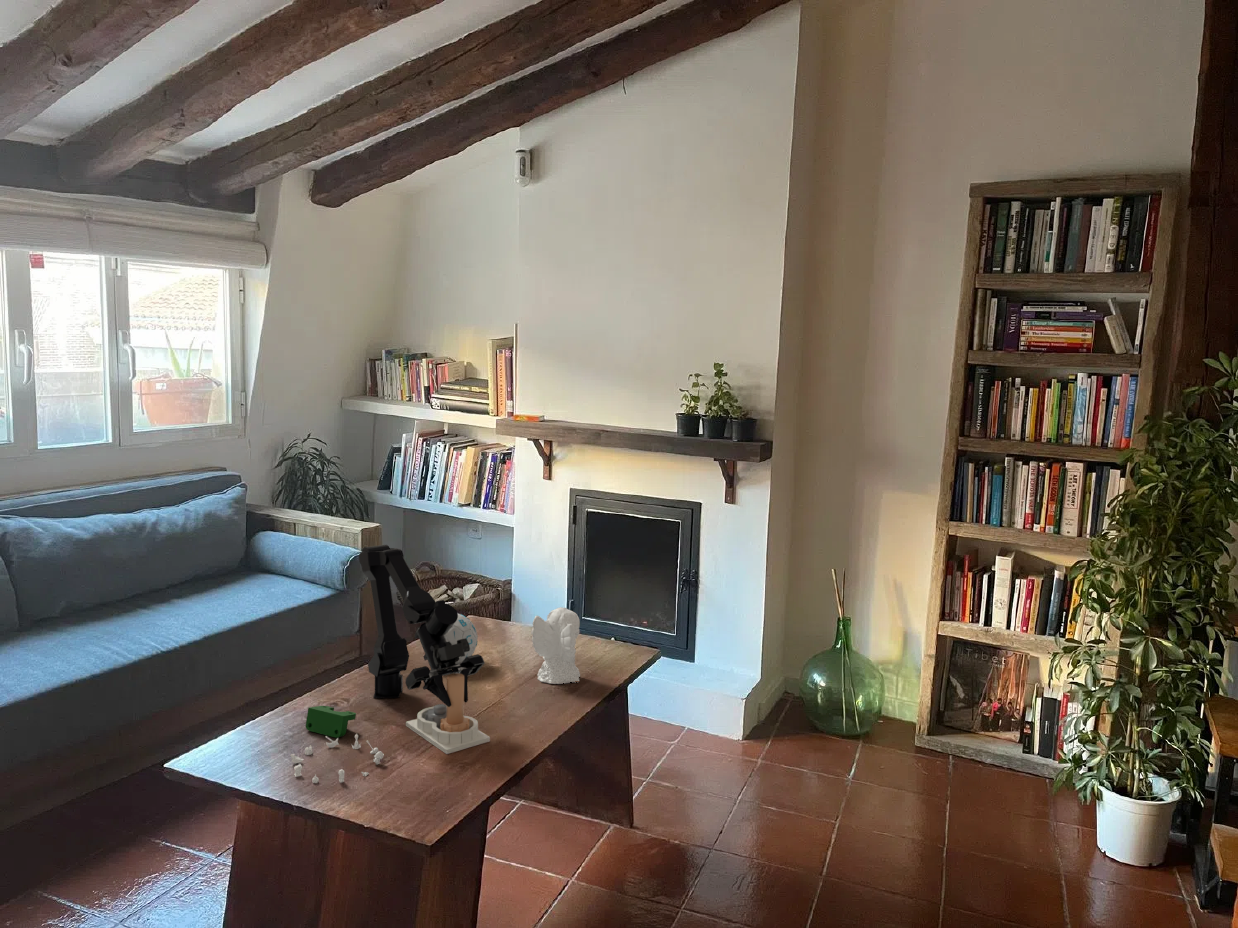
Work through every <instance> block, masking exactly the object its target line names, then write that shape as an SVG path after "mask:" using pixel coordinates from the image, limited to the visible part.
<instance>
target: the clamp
mask: <svg viewBox="0 0 1238 928" xmlns="http://www.w3.org/2000/svg"><path fill="white" fill-rule="evenodd" d="M356 716H357V713H356V712H354V711H349V710H348V711H337V710H335V707H332V706H328V705H317V706H310V707H308V708H307V714H306V720H305V729H306V730H307V731H309V732H313V733H317V734H320V735H324V736H327V737H331V738H336V739H337V738H342V737H344V736H345V735H346V733H347V729H348V726H349V725H348V723H349V721H353V720H356Z"/></svg>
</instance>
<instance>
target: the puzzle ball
mask: <svg viewBox="0 0 1238 928" xmlns="http://www.w3.org/2000/svg"><path fill="white" fill-rule="evenodd" d="M444 636H445V639H446V641H447V642H449V641H450V643H451V644H452V645H454V644H457V640H460V639H465V638H466V639H467V641H468V643H469V646H470V651H468V652H464V653H465V656H462V657H461V656H460V657H459V660H458V662H455V664H460V663H462V662H463V660H464V659H465V658H466V657H468V656H473V654H474V652H475V650H476V648H477V646H478V632H477V628H476V626H475V624H474V623H473V622H472V621H471V619H470V618H468V617H467V616H465V615H463V614H462V613H458V618H457V621H456V622H455V623H454V625H453V626H452V627H451V629H450V630H449V631H448V633H447V634H445V635H444Z"/></svg>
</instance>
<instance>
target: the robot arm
mask: <svg viewBox="0 0 1238 928" xmlns="http://www.w3.org/2000/svg"><path fill="white" fill-rule="evenodd" d="M358 560H359V564H360V565H361V571H362V573H363V575H365V576H366V578H367V579H368V580H369V582H370V586H371V594H372V595H371V596H372V601H373V607H374V613H375V622H376V628H377V629H376V630H377V635H378V637H377V639H376V642H375V644H374V646H373V656H372V657H371V659H370V660H369V662H368V663H367V668H368V672H369V673H370V674H371V675H373V676H374V693H373V696H372V697H373V699H395V698H396V699H398V698H400V695H401V694H402V692H403V688H404V687H403V683H404V682H403V681H404V680H403V677H404V676H403V674H401V672H404V671H407V667H408V664H409V659H410V653H409V651H408V643H407V642H408V641H407V640H406V638H405V637H404V638H403V637H402V636H401V635H400V634H399V633H398V628H397V627H398V626H397V621H396V614H395V608H394V606H395V605H394V599H393V594H392V587H391V581H390V580H392V581H393V583H394V585H395V588H396V589H397V591H398V592H399V595H400V597H401V599H402V600H403V603H402V607H401V610H402V612H403V616H404V618H405V620H406V622H408V623H409V624H410V625H416V624H421V625H420V626H417V627H416V631H415V633H414V639H415V640H417V639H419V642H420V644H421V647H422V649H423V652H424V655H423V659H424V661H427V662H428V665H429V666H426V665H425V666H420V667H415V668H412V670H411V671H410V673H408V675H407V677H406V678H405V686H406V689H407V690H408V691H411V690H414V689H419V688H420V687H421V684H422V682H423V684H424V685H423V686H422V689H423V690H424V691H425V690H427V691H428V692H430V693H431V694H432V695H434V696H435V697H436V698H438V699H439V700H440V701H441V702H442V704H444V705H446V706H448V707H450V706H451V702H450V698H449V696H448V694H447V688H446V687H445V685H444V680H443V678H444V676H448V675H449V674H453V673H459V674H463V675H464V704H466V703H468V701H469V690H468V680H469V676H472V675H476V674H477V673H478V672H479V671H480V669H481V668H482V667H483V666H484V665H485V664H486V662H485V660H484V658H483V656H482V655H481V654H479V653H477V654H474V655H473V654H472V656H468V657H466V658H465V659H464V660H463V662H462V663H460V664H455V662H458V660H459V657H460V656H461V657H462V656H465V653H464V652H468V651H470V646H469V643H468V641H467V639H466V638H465V639H460V640H457V644H454V645H452V644H451V643H450V641H449V642H447V641H446V639H445V636H444V635H445V634H447V633H448V631H449V630H450V629H451V627H452V626H453V625H454V623H455V622H456V621H457V618H458V614H459V613H458V611H457V609H456V608H455V607H453V606H452V605H450V604H448V603H446V601H445V599H440V600H435V599H434V598H433V596H432V595H431V593H430V592H428V591H426V590H424V589H423V588H421V586H420V584H419V583H418V581H417V580H416V578H415V576H414V574H413V572H412V571H411V568H410V567H409V565H408V563H407V561H406V560H405V558H404V552H403V550H402V549H401V548H395V547H390V546H389V545H388V544H381V545H373V546H365V547H363V548H362V550H361V551H360V552H359V555H358ZM390 578H391V579H390Z"/></svg>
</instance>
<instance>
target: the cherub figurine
mask: <svg viewBox="0 0 1238 928" xmlns="http://www.w3.org/2000/svg"><path fill="white" fill-rule="evenodd" d="M580 625H581V622H580V618H579V616H578V614H577V613H576V612H574V611H573V610H570V609H568V608H567V607H563V606H560V607H557V608H555V609H552V610H551V611H549V613H548V614H547V616H546V620H544V619H543V618H542V617H540V616H539V615H535V617H534V618H533V621H532V629H531V635H532V638H531V642H532V647H533V648H534V649H533V650H534V652H535V653H536V654H537V655H538V656H539V657H542V659H543V660H544V661H543V662H542V664H541V667H540V668H539V670H538V672H537V675H536V676H537V680H538V681H539V682H541V683H547V684H554V685H556V684H557V685H561V684H563V683H564V684H571V683H570V682H572V683H576V682H575V681H579V682H580V678H581V673H580V669H579V668H578V667H577V666H576V652H577V650H576V648H575V647H576V645H577V641H576V639H578V637H579V635H580ZM579 677H580V678H579Z"/></svg>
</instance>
